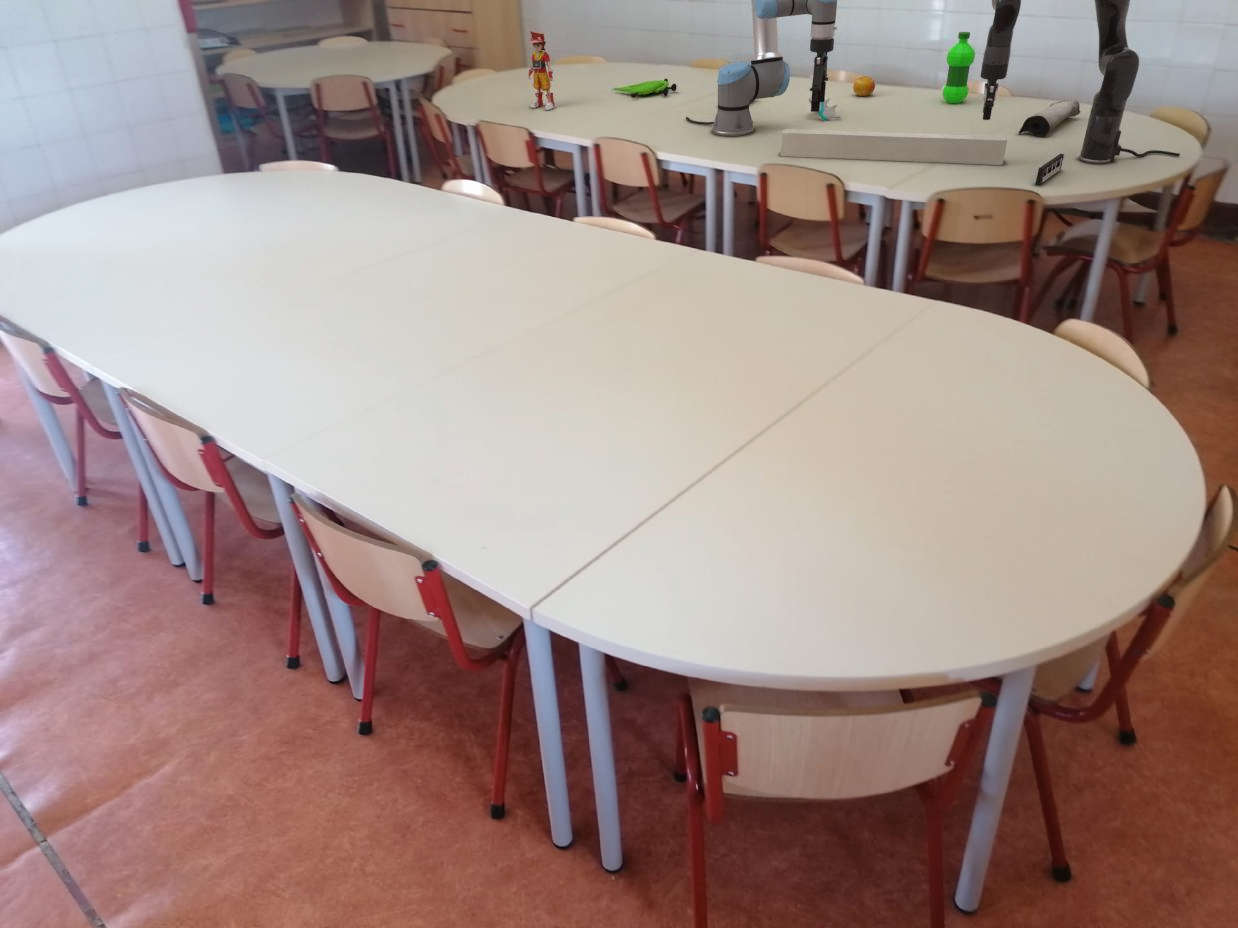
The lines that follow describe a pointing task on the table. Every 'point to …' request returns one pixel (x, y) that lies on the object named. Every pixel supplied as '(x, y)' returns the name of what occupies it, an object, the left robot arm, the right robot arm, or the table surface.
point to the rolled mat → (1050, 117)
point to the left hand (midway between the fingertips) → (817, 106)
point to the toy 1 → (541, 71)
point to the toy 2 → (648, 88)
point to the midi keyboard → (1049, 169)
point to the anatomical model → (826, 110)
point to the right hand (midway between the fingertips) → (986, 116)
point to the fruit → (864, 86)
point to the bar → (894, 146)
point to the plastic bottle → (958, 69)
